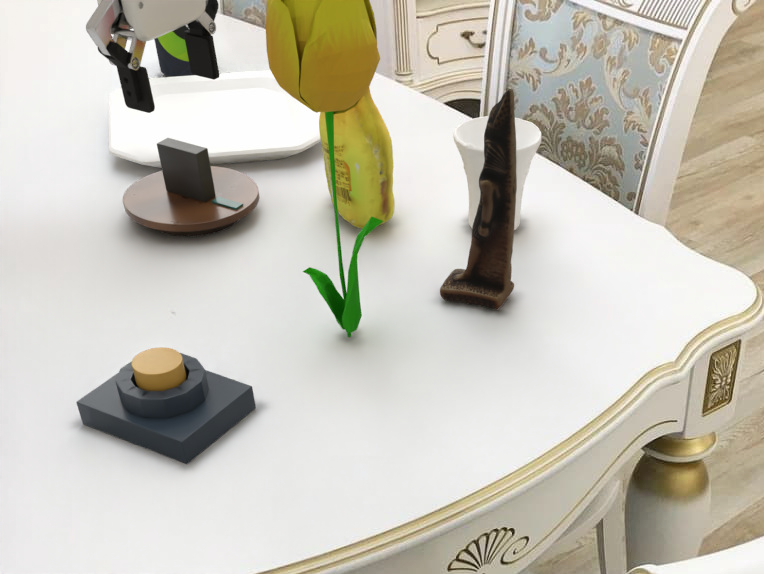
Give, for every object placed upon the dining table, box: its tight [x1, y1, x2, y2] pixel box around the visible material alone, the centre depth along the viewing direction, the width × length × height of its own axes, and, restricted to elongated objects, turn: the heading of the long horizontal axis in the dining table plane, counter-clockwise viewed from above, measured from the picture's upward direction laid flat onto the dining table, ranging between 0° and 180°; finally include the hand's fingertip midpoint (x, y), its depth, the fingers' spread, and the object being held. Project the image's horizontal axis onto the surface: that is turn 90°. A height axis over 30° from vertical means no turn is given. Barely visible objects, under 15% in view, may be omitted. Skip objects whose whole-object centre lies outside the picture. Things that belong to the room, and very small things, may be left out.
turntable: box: [122, 138, 260, 232], centre depth 115 cm, size 14×14×6 cm
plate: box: [108, 69, 321, 169], centre depth 133 cm, size 25×25×2 cm
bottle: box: [319, 87, 395, 230], centre depth 112 cm, size 12×6×20 cm, turn 25°
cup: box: [452, 115, 542, 231], centre depth 114 cm, size 9×9×10 cm
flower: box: [265, 0, 383, 338], centre depth 91 cm, size 9×8×30 cm
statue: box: [439, 88, 517, 310], centre depth 100 cm, size 4×7×20 cm, turn 71°
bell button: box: [131, 346, 186, 391], centre depth 90 cm, size 4×4×2 cm
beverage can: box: [153, 25, 194, 77], centre depth 140 cm, size 6×6×15 cm
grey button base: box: [76, 352, 257, 465], centre depth 91 cm, size 11×9×4 cm
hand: (174, 92), depth 109 cm, fingers open, 9 cm apart
